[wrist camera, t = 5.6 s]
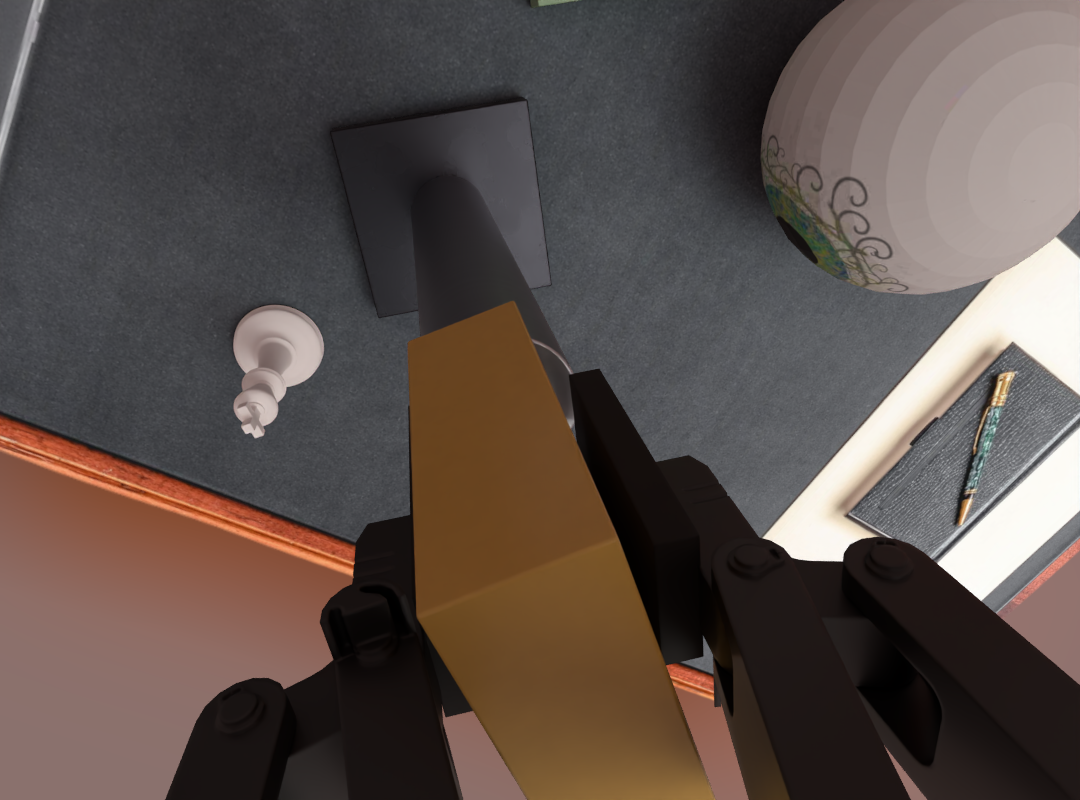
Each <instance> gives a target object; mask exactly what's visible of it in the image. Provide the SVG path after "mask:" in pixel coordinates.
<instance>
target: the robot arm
mask: <svg viewBox="0 0 1080 800" xmlns="http://www.w3.org/2000/svg"><path fill="white" fill-rule="evenodd" d="M569 382H570V390H571V398H572V406H573V414H574V422H575V431H576V439H577V444H578V446H579V449H580V451H581V453H582V456H583V458H584V460H585V462H586V465H587V467H588V469H589V472H590V474H591V476H592V478H593V481H594V483H595V485H596V488H597V490H598V492H599V494H600V497H601V499H602V501H603V504H604V506H605V508H606V510H607V513H608V515H609V517H610V519H611V522H612V524H613V526H614V529H615V531H616V533H617V535H618V538H619V540H620V543H621V546H622V548H623V551H624V554H625V557H626V559H627V562H628V565H629V567H630V570H631V573H632V575H633V578H634V581H635V583H636V586H637V589H638V592H639V594H640V597H641V600H642V602H643V605H644V608H645V610H646V613H647V616H648V618H649V621H650V624H651V626H652V629H653V632H654V635H655V637H656V640H657V643H658V645H659V648H660V651H661V653H662V656H663V659H664V661H665V664H666V665H669V664H674V663H678V662H682V661H686V660H691V659H695V658H699V657H703V636H704V638H705V640H706V642H707V644H708V646H709V648H710V650H711V652H712V654H713V668H714V705H715V707H721V704H722V707H723V710H724V714H725V717H726V721H727V724H728V728H729V731H730V735H731V739H732V742H733V746H734V749H735V753H736V756H737V760H738V763H739V767H740V770H741V774H742V777H743V781H744V784H745V788H746V791H747V795H748V798H749V800H911V799H910V797H909V795H908V793H907V791H906V789H905V787H904V785H903V783H902V781H901V779H900V777H899V775H898V773H897V771H896V769H895V767H894V765H893V763H892V761H891V759H890V757H889V755H888V753H887V751H886V749H885V747H886V748H887V749H888V750H889V752H890V753H891V754H892V755H893V757H894V758H895V759H896V761H897V762H898V763H899V764H900V766H901V767H902V768H903V769H904V771H906V773H907V774H908V776H909V777H910V778H911V779H912V781H913V782H914V783H915V784H916V786H917V787H918V788H919V790H920V791H921V792H922V793H923V795H924V796H925V797H926V798H927V800H1080V685H1079V684H1078V683H1077V682H1076V681H1074V680H1073V679H1072V678H1071V677H1070V676H1068V675H1067V674H1066V673H1065V672H1064V671H1063V670H1061V669H1060V668H1059V667H1058V666H1057V665H1056V664H1054V663H1053V662H1052V661H1051V660H1050V659H1048V658H1047V657H1046V656H1045V655H1044V654H1043V653H1041V652H1040V651H1039V650H1038V649H1037V648H1036V647H1034V646H1033V645H1032V644H1031V643H1030V642H1028V641H1027V640H1026V639H1025V638H1024V637H1023V636H1021V635H1020V634H1019V633H1018V632H1017V631H1015V630H1014V629H1013V628H1012V627H1010V625H1008V624H1007V623H1006V622H1005V621H1004V620H1003V619H1001V618H1000V617H999V616H998V615H997V614H996V613H994V612H993V611H992V610H991V609H990V608H989V607H987V606H986V605H985V604H984V603H983V602H981V601H980V600H979V599H978V598H977V597H976V596H974V595H973V594H972V593H971V592H970V591H969V590H967V589H966V588H965V587H964V586H963V585H961V584H960V583H959V582H958V581H957V580H956V579H954V578H953V577H952V576H951V575H950V574H949V573H947V572H946V571H945V570H944V569H943V568H941V567H940V566H939V565H938V564H937V563H936V562H934V561H933V560H932V559H931V558H930V557H929V556H927V555H926V554H925V553H924V552H922V551H921V550H919V549H917V548H916V547H914V546H913V545H911V544H909V543H905V542H902V541H899V540H896V539H893V538H883V537H872V538H865V539H861V540H859V541H857V542H855V543H853V544H851V545H849V547H848V548H847V550H846V551H845V553H844V558H843V562H837V561H806V560H798V559H794V558H791V557H790V555H789V554H788V553H787V552H786V551H785V549H784V548H783V547H781V546H779V545H777V544H776V543H774V542H772V541H770V540H766V539H762V538H759V537H758V535H757V534H756V533H755V531H754V530H753V528H752V527H751V526H750V524H749V523H748V522H747V520H746V519H745V517H744V516H743V515H742V513H741V512H740V510H739V509H738V508H737V506H736V505H735V503H734V502H733V501H732V499H731V498H730V497H729V496H727V492H726V491H725V490H724V488H723V487H722V485H721V484H719V482H718V480H717V478H716V477H715V476H714V474H713V473H712V472H711V470H710V469H709V467H708V466H706V465H705V464H703V463H701V462H700V461H698V460H696V459H694V458H693V457H691V456H689V455H688V456H683V457H678V458H673V459H668V460H664V461H659V462H655V460H654V459H653V457H652V455H651V454H650V452H649V450H648V449H647V447H646V445H645V444H644V442H643V440H642V439H641V437H640V435H639V434H638V432H637V430H636V429H635V427H634V425H633V424H632V422H631V420H630V419H629V417H628V415H627V414H626V412H625V410H624V409H623V407H622V405H621V404H620V402H619V400H618V399H617V397H616V396H615V394H614V392H613V391H612V389H611V387H610V386H609V384H608V382H607V381H606V379H605V377H604V376H603V374H602V372H601V371H600V369H595V370H590V371H585V372H579V373H574V374H569ZM408 414H409V469H410V515H408V516H403V517H399V518H394V519H389V520H384V521H379V522H375V523H370V524H368V525H367V526H366V528H365V529H364V531H363V532H362V534H361V535H360V537H359V538H358V540H357V542H356V550H355V564H354V572H353V576H354V579H353V583H352V585H349V586H347V587H345V588H343V589H342V590H340V591H339V592H338V593H337V594H336V595H334V596H333V597H332V598H330V600H329V601H328V603H327V604H326V606H325V607H324V608H323V610H322V614H321V619H320V624H321V627H322V630H323V632H324V635H325V638H326V640H327V643H328V646H329V649H330V651H331V654H332V656H333V661H332V662H330V663H329V664H328V665H327V666H326V667H325V668H323V669H322V670H320V671H319V672H317V673H315V674H314V675H312V676H310V677H308V678H306V679H304V680H302V681H300V682H298V683H296V684H294V685H292V686H290V687H288V688H286V689H283V687H282V686H281V684H280V683H278V682H276V681H274V680H272V679H269V678H252V679H249V680H245V681H242V682H239V683H236V684H234V685H232V686H231V687H229V688H227V689H226V690H224V691H223V692H220V693H219V694H218V695H217V696H216V697H215V698H214V699H213V700H212V701H210V703H208V704H207V705H206V706H205V708H204V709H203V711H202V713H201V714H200V716H199V718H198V719H197V721H196V723H195V726H194V728H193V731H192V733H191V736H190V738H189V741H188V744H187V746H186V749H185V751H184V754H183V756H182V759H181V761H180V764H179V766H178V769H177V771H176V774H175V776H174V779H173V781H172V784H171V786H170V789H169V791H168V794H167V797H166V799H165V800H463V797H462V793H461V789H460V785H459V781H458V777H457V773H456V769H455V766H454V762H453V758H452V754H451V750H450V746H449V742H448V739H447V735H446V732H445V729H444V725H443V716H442V706H443V709H444V713H445V717H449V716H453V715H457V714H462V713H466V712H470V711H473V710H472V708H471V706H470V705H469V703H468V701H467V700H466V698H465V696H464V695H463V693H462V692H461V690H460V688H459V687H458V685H457V683H456V682H455V680H454V678H453V677H452V675H451V673H450V672H449V670H448V668H447V667H446V665H445V663H444V662H443V660H442V658H441V657H440V655H439V654H438V652H437V650H436V649H435V647H434V645H433V644H432V642H431V640H430V639H429V637H428V635H427V634H426V632H425V630H424V629H423V627H422V625H421V624H420V622H419V621H418V619H417V616H416V586H415V555H414V525H413V494H412V464H411V433H410V406H408ZM884 745H885V747H884Z"/></svg>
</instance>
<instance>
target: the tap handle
mask: <svg viewBox="0 0 1080 800" xmlns="http://www.w3.org/2000/svg"><path fill="white" fill-rule="evenodd" d="M408 372H409V403H410V433H411V464H412V494H413V525H414V555H415V586H416V616H417V619H418V621H419V622H420V624H421V625H422V627H423V629H424V630H425V632H426V634H427V635H428V637H429V639H430V640H431V642H432V644H433V645H434V647H435V649H436V650H437V652H438V654H439V655H440V657H441V658H442V660H443V662H444V663H445V665H446V667H447V668H448V670H449V672H450V673H451V675H452V677H453V678H454V680H455V682H456V683H457V685H458V687H459V688H460V690H461V692H462V693H463V695H464V696H465V698H466V700H467V701H468V703H469V705H470V706H471V708H472V710H473V711H474V713H475V715H476V716H477V718H478V720H479V721H480V723H481V725H482V726H483V728H484V729H485V731H486V733H487V734H488V736H489V738H490V739H491V741H492V742H493V744H494V746H495V748H496V749H497V751H498V753H499V754H500V756H501V757H502V759H503V761H504V762H505V764H506V766H507V767H508V769H509V771H510V772H511V774H512V776H513V777H514V779H515V781H516V782H517V784H518V785H519V787H520V789H521V791H522V792H523V794H524V795H525V797H526V799H527V800H716V799H715V796H714V794H713V791H712V788H711V785H710V783H709V780H708V777H707V775H706V772H705V769H704V767H703V764H702V761H701V758H700V756H699V753H698V750H697V748H696V745H695V742H694V740H693V737H692V734H691V731H690V729H689V726H688V723H687V721H686V718H685V716H684V713H683V710H682V707H681V705H680V702H679V699H678V696H677V694H676V691H675V688H674V686H673V683H672V680H671V678H670V675H669V672H668V670H667V667H666V664H665V661H664V659H663V656H662V653H661V651H660V648H659V645H658V643H657V640H656V637H655V635H654V632H653V629H652V626H651V624H650V621H649V618H648V616H647V613H646V610H645V608H644V605H643V602H642V600H641V597H640V594H639V592H638V589H637V586H636V583H635V581H634V578H633V575H632V573H631V570H630V567H629V565H628V562H627V559H626V557H625V554H624V551H623V548H622V546H621V543H620V540H619V538H618V535H617V533H616V531H615V529H614V526H613V524H612V522H611V519H610V517H609V515H608V513H607V510H606V508H605V506H604V504H603V501H602V499H601V497H600V494H599V492H598V490H597V488H596V485H595V483H594V481H593V478H592V476H591V474H590V472H589V469H588V467H587V465H586V462H585V460H584V458H583V456H582V453H581V451H580V449H579V446H578V444H577V442H576V440H575V437H574V435H573V433H572V431H571V428H570V426H569V424H568V421H567V419H566V417H565V415H564V412H563V410H562V408H561V405H560V403H559V401H558V399H557V396H556V394H555V392H554V389H553V387H552V385H551V383H550V380H549V378H548V376H547V373H546V371H545V369H544V367H543V364H542V362H541V360H540V358H539V355H538V353H537V351H536V348H535V346H534V344H533V342H532V339H531V337H530V335H529V332H528V330H527V328H526V326H525V323H524V321H523V319H522V316H521V314H520V312H519V310H518V307H517V305H516V303H515V302H514V301H510V302H508V303H505V304H503V305H500V306H498V307H495V308H493V309H490V310H487V311H485V312H482V313H480V314H477V315H475V316H472V317H470V318H467V319H465V320H462V321H460V322H457V323H454V324H452V325H449V326H447V327H444V328H442V329H439V330H437V331H434V332H432V333H429V334H426V335H424V336H421V337H419V338H416V339H414V340H411V341H409V342H408Z"/></svg>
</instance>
